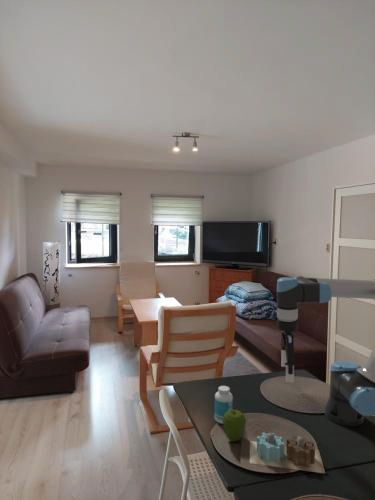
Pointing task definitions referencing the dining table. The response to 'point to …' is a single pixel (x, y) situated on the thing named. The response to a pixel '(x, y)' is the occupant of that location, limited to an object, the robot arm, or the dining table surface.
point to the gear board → (285, 462)
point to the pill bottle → (222, 403)
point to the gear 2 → (300, 452)
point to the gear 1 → (270, 448)
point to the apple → (234, 424)
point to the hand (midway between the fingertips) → (287, 373)
